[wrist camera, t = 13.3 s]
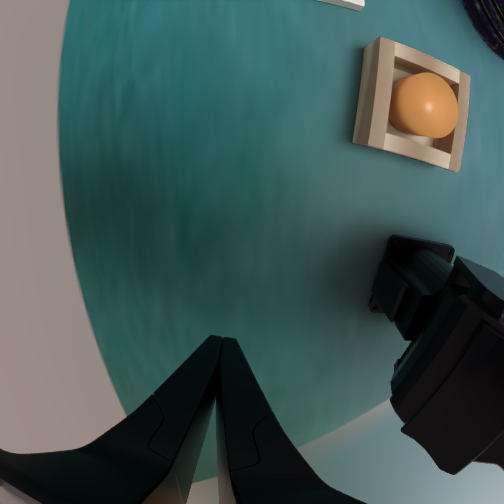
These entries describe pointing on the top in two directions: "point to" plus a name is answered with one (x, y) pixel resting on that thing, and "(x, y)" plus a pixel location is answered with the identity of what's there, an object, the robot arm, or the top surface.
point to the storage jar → (488, 22)
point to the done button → (423, 106)
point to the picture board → (347, 3)
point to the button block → (378, 103)
